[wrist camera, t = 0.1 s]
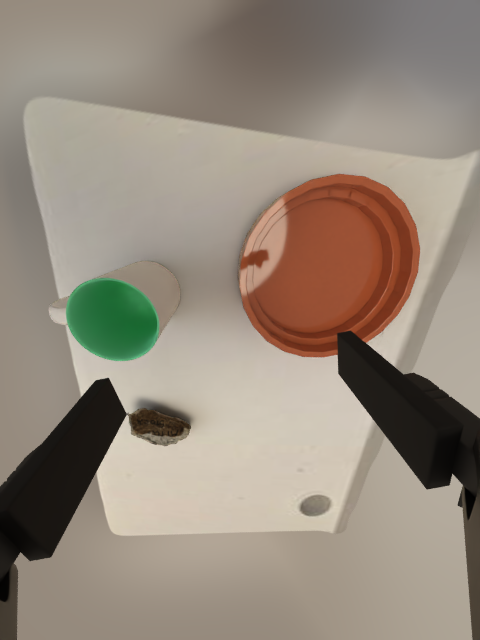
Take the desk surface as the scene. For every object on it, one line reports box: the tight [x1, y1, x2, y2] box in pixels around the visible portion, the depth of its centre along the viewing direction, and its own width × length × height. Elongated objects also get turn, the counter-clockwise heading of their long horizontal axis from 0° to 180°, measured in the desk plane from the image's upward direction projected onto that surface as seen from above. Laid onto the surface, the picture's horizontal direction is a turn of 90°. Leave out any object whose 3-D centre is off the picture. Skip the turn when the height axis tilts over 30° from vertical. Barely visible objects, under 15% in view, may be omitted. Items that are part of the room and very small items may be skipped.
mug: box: [49, 261, 180, 361], centre depth 26 cm, size 12×8×10 cm
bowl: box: [238, 174, 420, 357], centre depth 29 cm, size 21×21×4 cm
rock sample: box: [127, 408, 191, 446], centre depth 37 cm, size 10×8×9 cm
